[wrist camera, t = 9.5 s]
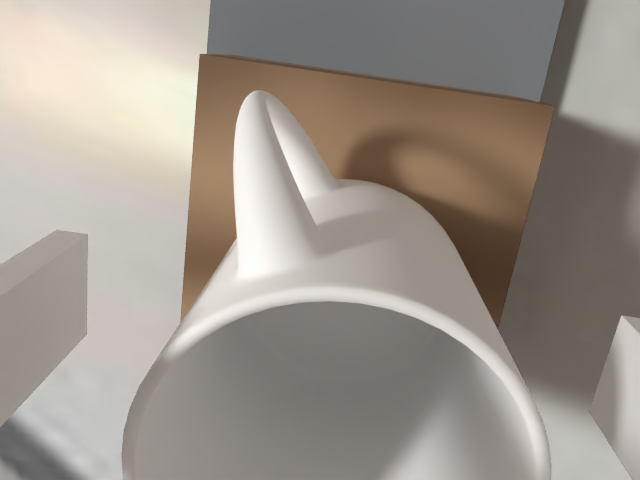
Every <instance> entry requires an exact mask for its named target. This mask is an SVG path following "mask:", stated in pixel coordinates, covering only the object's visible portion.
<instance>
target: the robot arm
mask: <svg viewBox="0 0 640 480" xmlns="http://www.w3.org/2000/svg"><path fill="white" fill-rule="evenodd" d="M87 257H88V234H81V233H74V232H68V231H61V230H56V231H54V232H53V233H51V234H49V235H48V236H46V237H45V238H43V239H41V240H40V241H38V242H37V243H35V244H33V245H32V246H30V247H28V248H27V249H25V250H24V251H22V252H20V253H19V254H17V255H16V256H14V257H12V258H11V259H9V260H7V261H6V262H4V263H3V264H1V265H0V427H1V426H2V425H3V424H4V422H5V421H6V420H7V419H8V418H9V417H10V416H11V415H12V414H13V413H14V412H15V411H16V410H17V409H18V407H19V406H20V405H21V404H22V403H23V402H24V401H25V400H26V399H27V398H28V397H29V396H30V395H31V393H32V392H33V391H34V390H35V389H36V388H37V387H38V386H39V385H40V384H41V383H42V382H43V381H44V380H45V378H46V377H47V376H48V375H49V374H50V373H51V372H52V371H53V370H54V369H55V368H56V367H57V366H58V365H59V363H60V362H61V361H62V360H63V359H64V358H65V357H66V356H67V355H68V354H69V353H70V352H71V351H72V349H73V348H74V347H75V346H76V345H77V344H78V343H79V342H80V341H81V340H82V339H83V338H84V337H85V336H86V334H87ZM589 412H590V414H591V415H592V417H593V418H594V420H595V422H596V423H597V425H598V426H599V428H600V430H601V431H602V433H603V434H604V436H605V438H606V439H607V441H608V442H609V444H610V445H611V447H612V449H613V450H614V452H615V453H616V455H617V457H618V458H619V460H620V461H621V463H622V464H623V466H624V468H625V469H626V471H627V472H628V474H629V476H630V477H631V479H632V480H640V318H637V317H630V316H623V315H621V318H620V321H619V324H618V327H617V330H616V333H615V336H614V339H613V341H612V344H611V347H610V350H609V353H608V356H607V359H606V362H605V365H604V368H603V371H602V374H601V377H600V380H599V383H598V386H597V389H596V392H595V395H594V398H593V401H592V403H591V406H590V409H589Z"/></svg>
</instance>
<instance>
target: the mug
mask: <svg viewBox="0 0 640 480" xmlns="http://www.w3.org/2000/svg"><path fill="white" fill-rule="evenodd" d="M233 182H234V202H235V218H236V232H237V239H236V240H235V242H234V243H233V245H232V246H231V248H230V249H229V251H228V252H227V254H226V255H225V257H224V258H223V260H222V261H221V263H220V264H219V266H218V267H217V269H216V270H215V272H214V273H213V275H212V276H211V278H210V279H209V281H208V282H207V284H206V285H205V287H204V288H203V290H202V291H201V293H200V294H199V296H198V298H197V299H196V301H195V302H194V304H193V305H192V307H191V308H190V310H189V311H188V313H187V314H186V316H185V317H184V319H183V320H182V322H181V323H180V325H179V326H178V328H177V329H176V331H175V332H174V334H173V335H172V337H171V338H170V340H169V341H168V343H167V344H166V346H165V347H164V349H163V350H162V352H161V353H160V355H159V356H158V358H157V359H156V361H155V362H154V364H153V365H152V367H151V369H150V370H149V372H148V373H147V375H146V376H145V378H144V380H143V381H142V383H141V384H140V386H139V388H138V390H137V393H136V395H135V397H134V400H133V402H132V404H131V407H130V409H129V413H128V417H127V421H126V424H125V428H124V434H123V444H122V471H123V480H551V472H552V465H551V457H550V448H549V441H548V438H547V434H546V431H545V427H544V424H543V420H542V417H541V415H540V413H539V411H538V409H537V406H536V404H535V402H534V400H533V398H532V396H531V394H530V392H529V390H528V388H527V386H526V384H525V382H524V380H523V378H522V376H521V374H520V372H519V370H518V368H517V366H516V364H515V362H514V360H513V359H512V357H511V355H510V353H509V351H508V349H507V347H506V345H505V343H504V341H503V339H502V337H501V335H500V333H499V331H498V329H497V327H496V325H495V323H494V321H493V320H492V318H491V316H490V314H489V312H488V310H487V308H486V306H485V304H484V302H483V300H482V298H481V296H480V294H479V292H478V290H477V288H476V286H475V284H474V283H473V281H472V279H471V277H470V275H469V273H468V271H467V269H466V267H465V265H464V263H463V261H462V259H461V257H460V255H459V253H458V251H457V249H456V248H455V246H454V244H453V243H452V241H451V239H450V238H449V236H448V235H447V233H446V232H445V230H444V229H443V228H442V226H441V225H440V224H439V223H438V222H437V221H436V219H435V218H434V217H433V216H432V215H431V214H430V213H429V212H428V211H427V210H425V209H424V208H423V207H422V206H421V205H420V204H418V203H417V202H415V201H414V200H412V199H411V198H409V197H408V196H406V195H404V194H402V193H400V192H398V191H396V190H394V189H392V188H389V187H386V186H383V185H380V184H377V183H373V182H367V181H362V180H352V179H334V177H333V176H332V174H331V172H330V171H329V169H328V167H327V166H326V164H325V162H324V161H323V159H322V157H321V156H320V154H319V152H318V151H317V149H316V147H315V146H314V144H313V143H312V141H311V139H310V138H309V136H308V135H307V133H306V132H305V130H304V129H303V128H302V126H301V125H300V124H299V122H298V121H297V120H296V118H295V117H294V116H293V115H292V114H291V112H290V111H289V110H288V109H287V108H286V107H285V106H284V104H282V103H281V102H280V101H279V100H278V99H277V98H276V97H274V96H273V95H271V94H270V93H268V92H266V91H262V90H257V91H253V92H252V93H250V94H249V95H248V96H247V97H246V98H245V100H244V102H243V104H242V106H241V108H240V111H239V115H238V119H237V122H236V130H235V139H234V158H233Z"/></svg>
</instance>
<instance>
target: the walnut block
mask: <svg viewBox="0 0 640 480" xmlns="http://www.w3.org/2000/svg"><path fill="white" fill-rule="evenodd" d="M257 90H262V91H266V92H268V93H270V94H271V95H273V96H274V97H276V98H277V99H278V100H279V101H280V102H281V103H282V104H284V106H285V107H286V108H287V109H288V110H289V111H290V112H291V114H292V115H293V116H294V117H295V118H296V120H297V121H298V122H299V124H300V125H301V126H302V128H303V129H304V130H305V132H306V133H307V135H308V136H309V138H310V139H311V141H312V143H313V144H314V146H315V147H316V149H317V151H318V152H319V154H320V156H321V157H322V159H323V161H324V162H325V164H326V166H327V167H328V169H329V171H330V172H331V174H332V176H333V177H334V179H352V180H362V181H367V182H373V183H377V184H380V185H383V186H386V187H389V188H392V189H394V190H396V191H398V192H400V193H402V194H404V195H406V196H408V197H409V198H411V199H412V200H414V201H415V202H417V203H418V204H420V205H421V206H422V207H423V208H424V209H425V210H427V211H428V212H429V213H430V214H431V215H432V216H433V217H434V218H435V219H436V221H437V222H438V223H439V224H440V225H441V226H442V228H443V229H444V230H445V232H446V233H447V235H448V236H449V238H450V239H451V241H452V243H453V244H454V246H455V248H456V249H457V251H458V253H459V255H460V257H461V259H462V261H463V263H464V265H465V267H466V269H467V271H468V273H469V275H470V277H471V279H472V281H473V283H474V284H475V286H476V288H477V290H478V292H479V294H480V296H481V298H482V300H483V302H484V304H485V306H486V308H487V310H488V312H489V314H490V316H491V318H492V320H493V321H494V323H495V325H496V327H497V329H498V326H499V322H500V318H501V314H502V310H503V307H504V303H505V299H506V295H507V291H508V287H509V283H510V279H511V275H512V272H513V268H514V264H515V260H516V256H517V252H518V248H519V244H520V241H521V237H522V233H523V229H524V225H525V221H526V217H527V213H528V209H529V206H530V202H531V198H532V194H533V190H534V186H535V182H536V178H537V174H538V171H539V167H540V163H541V159H542V155H543V151H544V147H545V143H546V140H547V136H548V132H549V128H550V124H551V120H552V116H553V112H554V108H555V106H552V105H548V104H544V103H540V102H536V101H532V100H528V99H524V98H520V97H516V96H509V95H503V94H496V93H489V92H482V91H475V90H469V89H462V88H455V87H448V86H441V85H434V84H428V83H421V82H414V81H407V80H400V79H394V78H387V77H380V76H373V75H366V74H360V73H353V72H346V71H339V70H332V69H325V68H319V67H312V66H305V65H298V64H291V63H285V62H278V61H271V60H264V59H257V58H251V57H244V56H237V55H226V54H200V58H199V72H198V86H197V100H196V114H195V127H194V141H193V155H192V169H191V183H190V197H189V210H188V224H187V238H186V252H185V266H184V280H183V293H182V307H181V321H180V323H181V322H182V320H183V319H184V317H185V316H186V314H187V313H188V311H189V310H190V308H191V307H192V305H193V304H194V302H195V301H196V299H197V298H198V296H199V294H200V293H201V291H202V290H203V288H204V287H205V285H206V284H207V282H208V281H209V279H210V278H211V276H212V275H213V273H214V272H215V270H216V269H217V267H218V266H219V264H220V263H221V261H222V260H223V258H224V257H225V255H226V254H227V252H228V251H229V249H230V248H231V246H232V245H233V243H234V242H235V240H236V239H237V232H236V218H235V202H234V182H233V158H234V139H235V130H236V122H237V119H238V115H239V111H240V108H241V106H242V104H243V102H244V100H245V98H246V97H247V96H248V95H249V94H250V93H252V92H253V91H257Z"/></svg>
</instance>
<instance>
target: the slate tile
mask: <svg viewBox="0 0 640 480" xmlns="http://www.w3.org/2000/svg"><path fill="white" fill-rule="evenodd" d="M564 2H565V0H211V4H210V17H209V31H208V44H207V54H226V55H237V56H244V57H251V58H257V59H264V60H271V61H278V62H285V63H291V64H298V65H305V66H312V67H319V68H325V69H332V70H339V71H346V72H353V73H360V74H366V75H373V76H380V77H387V78H394V79H400V80H407V81H414V82H421V83H428V84H434V85H441V86H448V87H455V88H462V89H469V90H475V91H482V92H489V93H496V94H503V95H509V96H516V97H520V98H524V99H528V100H532V101H536V102H540V99H541V95H542V91H543V87H544V83H545V79H546V75H547V71H548V67H549V63H550V59H551V55H552V51H553V47H554V43H555V39H556V35H557V31H558V27H559V23H560V19H561V14H562V10H563V6H564Z"/></svg>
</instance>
